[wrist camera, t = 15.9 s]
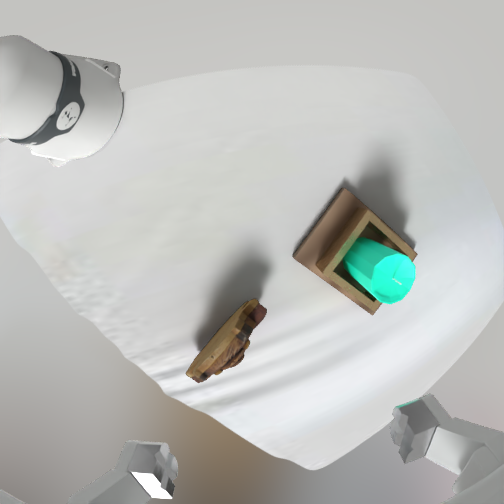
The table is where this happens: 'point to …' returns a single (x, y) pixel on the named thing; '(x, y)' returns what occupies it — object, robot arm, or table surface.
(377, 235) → the candle stand
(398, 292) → the candle
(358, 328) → the table surface
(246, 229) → the table surface
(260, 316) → the wooden carving
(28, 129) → the robot arm
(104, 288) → the table surface
